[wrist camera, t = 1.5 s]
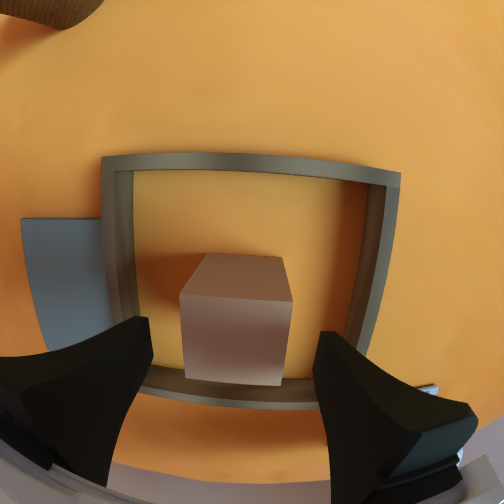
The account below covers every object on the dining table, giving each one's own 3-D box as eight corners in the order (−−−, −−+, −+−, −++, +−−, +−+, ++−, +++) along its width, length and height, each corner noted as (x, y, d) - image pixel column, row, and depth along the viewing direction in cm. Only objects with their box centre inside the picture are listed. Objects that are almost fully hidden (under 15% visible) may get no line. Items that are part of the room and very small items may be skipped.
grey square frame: (381, 172, 14) (401, 172, 12) (339, 385, 19) (346, 407, 16) (122, 158, 15) (101, 156, 12) (140, 370, 19) (128, 389, 16)
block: (282, 257, 16) (293, 301, 10) (275, 322, 17) (280, 385, 11) (207, 252, 16) (179, 293, 10) (207, 317, 17) (185, 377, 12)
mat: (116, 219, 16) (112, 220, 15) (136, 370, 19) (133, 375, 18) (25, 218, 16) (20, 219, 15) (51, 346, 19) (47, 349, 18)
